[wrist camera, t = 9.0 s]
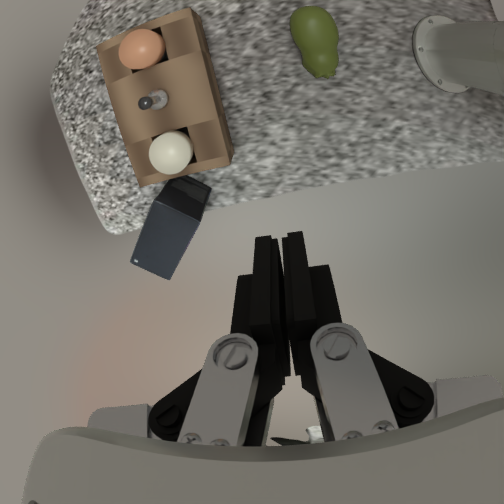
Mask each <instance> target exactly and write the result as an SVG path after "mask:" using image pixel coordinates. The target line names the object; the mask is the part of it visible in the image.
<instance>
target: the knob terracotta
mask: <svg viewBox="0 0 504 504" xmlns="http://www.w3.org/2000/svg"><path fill="white" fill-rule="evenodd" d="M119 58H120V61H121V62H122V64H123V65H124V66H126V67H128V68H130V69H147V68H150V67H152V66H154V65H156V64H159V63H162V62H165V61H168V60H169V59H168V55H167V51H166V47H165V42H164V39H163V38H162V36H161V35H160V34H158V33H156V32H154V31H151V30H148V29H138V30H135V31H132V32H131V33H129V34H128V35H127V36H126V37H125V38H124V39H123V40H122V42H121V44H120V47H119Z"/></svg>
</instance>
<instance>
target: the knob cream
mask: <svg viewBox="0 0 504 504" xmlns="http://www.w3.org/2000/svg"><path fill="white" fill-rule="evenodd" d="M192 156H193V144H192V142H191V139H190V135H189V132H188V128H187V127H183V128H180V129H177V130H172V131H167V132H165V133H163V134H162V135H160V136H159V137H157V138H156V139H155V140H154V141H153V142H152V144H151V146H150V149H149V158H150V161H151V164H152V165H153V167H154V168H155V169H156V170H158V171H159V172H161V173H164V174H176V173H179V172H181V171H182V170H183V169H184V168H185V167H186V166H187V164H188V163H189V162H190V160H191V158H192Z"/></svg>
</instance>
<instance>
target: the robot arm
mask: <svg viewBox="0 0 504 504" xmlns="http://www.w3.org/2000/svg"><path fill="white" fill-rule="evenodd" d="M413 49H414V54H415V57H416V60H417V63H418V65H419V67H420V69H421V70H422V72H423V74H424V75H425V76H426V77H427V79H428V80H429V81H430V82H431V83H432V84H433V85H435V86H436V87H438V88H439V89H442V90H444V91H447V92H451V93H461V92H464V91H466V90H468V89H469V88H470V87H473V88H477V89H481V90H485V91H488V92H492V93H496V94H499V95H502V96H504V21H478V22H461V23H456V22H455V21H453V20H452V19H450V18H447V17H444V16H439V15H435V16H429V17H426V18H424V19H422V20H421V21H420V22H419V23H418V24H417V26H416V28H415V30H414V35H413ZM287 234H288V237H284V238H282V248H283V264H284V274H283V268H282V262H281V256H280V250H279V245H278V240H277V239H272V238H271V235H269V236H261V237H256V238H255V250H254V263H253V274H248V275H240V276H238V279H237V286H236V293H235V301H234V308H233V316H232V325H231V332H230V334H228V335H225V336H223V337H221V338H220V339H218V340H216V341H215V343H214V344H213V345H212V346H211V348H210V349H209V351H208V354H207V357H206V360H205V363H204V365H203V368H202V369H201V370H200V371H199V372H197V373H196V374H195V375H193V376H192V377H191V378H189V379H188V380H187V381H185V382H184V383H183V384H181V385H180V386H179V387H177V388H176V389H174V390H173V391H172V392H170V393H169V394H168V395H166V396H165V397H164V398H162V399H161V400H159V401H158V402H157V403H156V404H155V405H154V406H149V405H148V404H140V405H131V406H120V407H108V408H100V409H97V410H96V411H95V412H93V413H92V415H91V416H90V418H89V421H88V427H68V428H63V429H59V430H56V431H53V432H51V433H49V434H47V435H46V436H45V437H44V438H43V439H42V440H41V442H40V443H39V445H38V447H37V449H36V451H35V453H34V456H33V459H32V461H31V465H30V468H29V471H28V475H27V479H26V483H25V487H24V492H23V498H22V504H504V398H503V393H502V388H501V385H500V383H499V382H498V380H497V379H495V378H494V377H492V376H489V375H482V376H473V377H463V378H451V379H436V381H435V382H426V381H424V380H423V379H421V378H419V377H418V376H416V375H414V374H412V373H410V372H408V371H407V370H405V369H403V368H401V367H399V366H397V365H395V364H394V363H392V362H390V361H388V360H386V359H384V358H383V357H381V356H379V355H377V354H375V353H373V352H372V351H370V350H368V349H367V347H366V345H365V343H364V340H363V338H362V336H361V334H360V333H359V331H358V330H357V329H355V328H354V327H353V326H351V325H348V324H345V323H342V320H341V315H340V310H339V306H338V302H337V297H336V293H335V288H334V284H333V280H332V275H331V272H330V268H329V265H321V266H313V267H308V261H307V255H306V249H305V244H304V238H303V233H302V231H298V232H291V233H287ZM289 340H290V342H289ZM290 346H291V352H292V358H293V364H294V370H295V375H296V376H297V375H301V382H302V388H303V389H305V390H306V391H308V392H309V393H310V394H312V395H313V396H314V402H315V406H316V410H317V414H318V418H319V422H320V426H321V430H322V434H323V439H324V442H323V443H314V444H303V445H289V446H265V445H266V440H267V436H268V430H269V425H270V420H271V415H272V410H273V405H274V397H275V396H276V395H277V394H278V393H279V392H280V391H281V390H282V385H285V377H287V376H291V369H290Z"/></svg>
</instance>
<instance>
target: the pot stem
mask: <svg viewBox="0 0 504 504" xmlns="http://www.w3.org/2000/svg"><path fill="white" fill-rule="evenodd" d="M168 101H169V95H168V93H167V92H166V91H165V90H162V89H157V90H153V91H151V92H150V93H149V95H148V96H145V97H142V98H140V99H139V101H138V106H139V108H140V109H142V110H147V109H149V108H152V109H154V110H158V109H161V108H164V107H165V106H166V105H167V104H168Z"/></svg>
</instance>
